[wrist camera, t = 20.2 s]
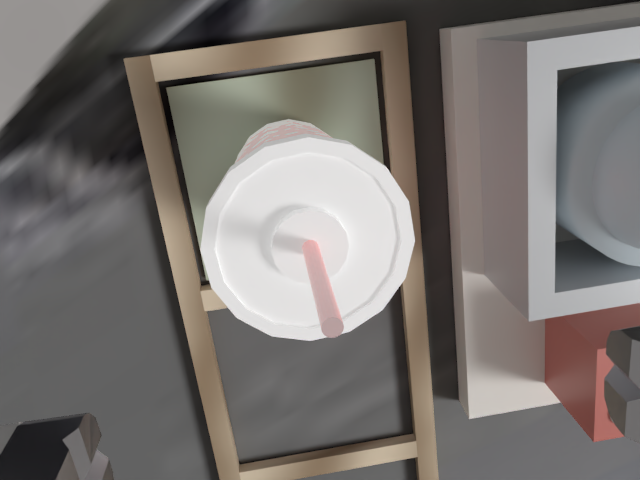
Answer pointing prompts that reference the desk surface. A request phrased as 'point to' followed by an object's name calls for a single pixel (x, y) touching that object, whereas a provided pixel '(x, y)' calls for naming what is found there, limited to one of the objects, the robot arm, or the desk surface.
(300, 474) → the wooden window frame
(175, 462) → the desk surface
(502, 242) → the dome housing
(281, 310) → the beverage cup
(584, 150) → the dome
